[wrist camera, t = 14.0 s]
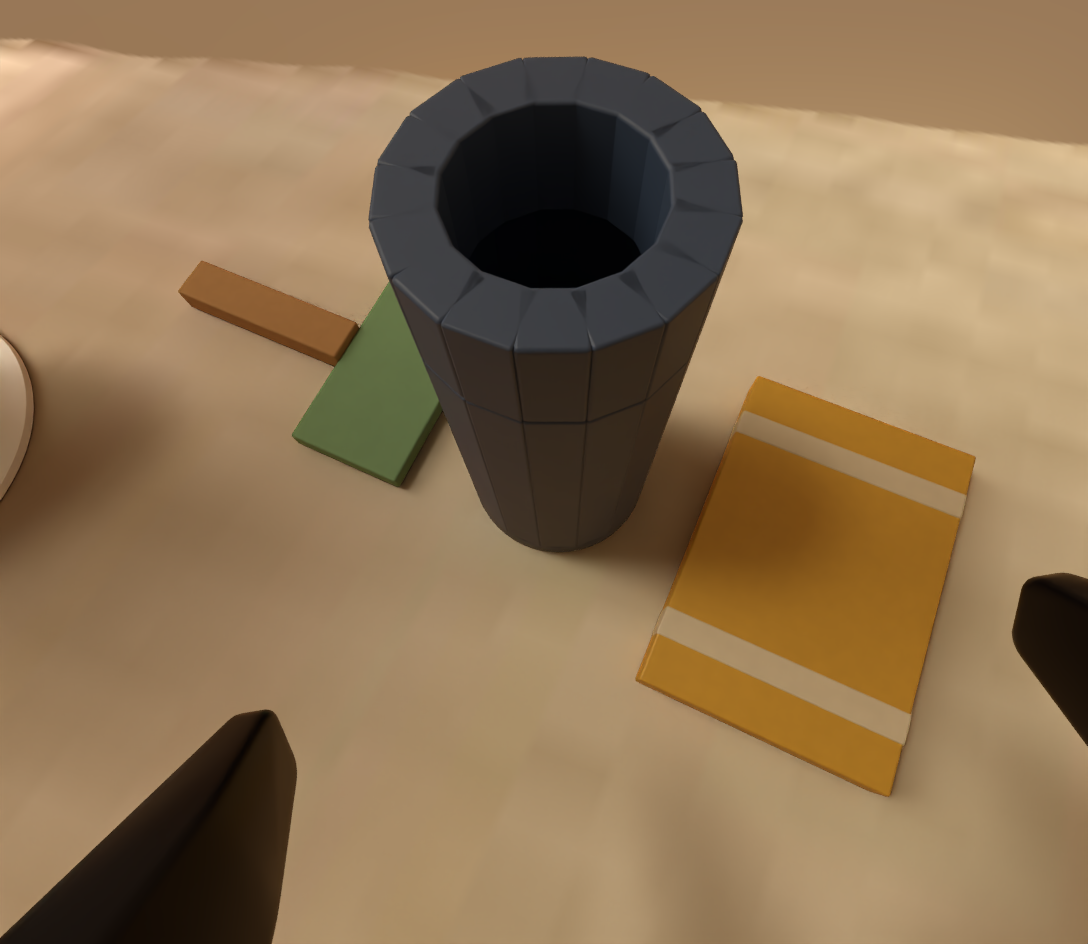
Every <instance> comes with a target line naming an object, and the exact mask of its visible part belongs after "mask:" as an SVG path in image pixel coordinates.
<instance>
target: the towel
mask: <svg viewBox="0 0 1088 944" xmlns="http://www.w3.org/2000/svg"><path fill="white" fill-rule="evenodd" d="M975 459H976V458H975V456H972V455H969V454H967V453H964V452H961V451H959V450H956V449H953V448H951V447H948V446H945V445H943V444H940V443H937V442H935V441H932V440H929V439H927V438H924V437H921V436H919V435H916V434H913V433H910V432H908V431H905V430H902V429H900V428H897V427H894V426H892V425H889V424H886V423H884V422H881V421H878V420H876V419H873V418H870V417H868V416H865V415H862V414H860V413H857V412H854V411H852V410H849V409H846V408H844V407H841V406H838V405H836V404H833V403H830V402H827V401H825V400H822V399H819V398H817V397H814V396H811V395H809V394H806V393H803V392H801V391H798V390H795V389H793V388H790V387H787V386H785V385H782V384H779V383H777V382H774V381H771V380H769V379H766V378H763V377H761V376H758V377H757V378H756V380H755V381H754V383H753V385H752V386H751V388H750V390H749V391H748V394H747V396H746V399H745V401H744V404H743V406H742V409H741V412H740V414H739V417H738V419H737V422H736V424H735V425H734V428H733V430H732V433H731V436H730V438H729V441H728V445H727V447H726V450H725V452H724V455H723V457H722V460H721V462H720V465H719V467H718V470H717V473H716V475H715V478H714V480H713V483H712V485H711V488H710V490H709V493H708V495H707V498H706V501H705V503H704V506H703V508H702V511H701V513H700V516H699V518H698V521H697V523H696V526H695V529H694V531H693V534H692V536H691V539H690V541H689V544H688V546H687V549H686V551H685V554H684V557H683V559H682V562H681V564H680V567H679V569H678V572H677V574H676V577H675V579H674V582H673V584H672V587H671V590H670V592H669V595H668V597H667V600H666V602H665V605H664V607H663V610H662V611H661V613H660V616H659V618H658V621H657V623H656V626H655V628H654V631H653V633H652V638H651V640H650V643H649V646H648V648H647V651H646V653H645V656H644V658H643V661H642V663H641V666H640V668H639V671H638V673H637V676H636V681H637V682H639V683H641V684H643V685H645V686H647V687H649V688H652V689H654V690H656V691H658V692H660V693H662V694H664V695H666V696H669V697H671V698H673V699H675V700H677V701H679V702H681V703H683V704H685V705H688V706H690V707H692V708H694V709H696V710H698V711H700V712H702V713H705V714H707V715H709V716H711V717H713V718H715V719H717V720H719V721H721V722H724V723H726V724H728V725H730V726H732V727H734V728H736V729H738V730H741V731H743V732H745V733H747V734H749V735H751V736H753V737H755V738H757V739H760V740H762V741H764V742H766V743H768V744H770V745H772V746H774V747H777V748H779V749H781V750H783V751H785V752H787V753H789V754H791V755H793V756H796V757H798V758H800V759H802V760H804V761H806V762H808V763H810V764H813V765H815V766H817V767H819V768H821V769H823V770H825V771H827V772H829V773H832V774H834V775H836V776H838V777H840V778H842V779H844V780H846V781H849V782H851V783H853V784H855V785H857V786H859V787H861V788H863V789H865V790H868V791H870V792H873V793H877V794H880V795H883V796H888V797H889V796H890V794H891V790H892V786H893V782H894V778H895V774H896V770H897V766H898V762H899V758H900V754H901V750H902V746H903V745H905V742H906V738H907V734H908V730H909V726H910V722H911V718H912V715H911V711H912V707H913V703H914V699H915V695H916V691H917V687H918V683H919V679H920V675H921V672H922V668H923V664H924V660H925V656H926V652H927V648H928V644H929V640H930V636H931V632H932V628H933V624H934V620H935V616H936V612H937V609H938V605H939V601H940V597H941V593H942V589H943V585H944V581H945V577H946V573H947V569H948V565H949V561H950V557H951V553H952V550H953V546H954V542H955V538H956V534H957V530H958V526H959V522H960V519H961V518H962V514H963V510H964V507H965V503H966V499H967V496H966V494H967V490H968V487H969V483H970V479H971V475H972V471H973V467H974V463H975Z"/></svg>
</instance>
